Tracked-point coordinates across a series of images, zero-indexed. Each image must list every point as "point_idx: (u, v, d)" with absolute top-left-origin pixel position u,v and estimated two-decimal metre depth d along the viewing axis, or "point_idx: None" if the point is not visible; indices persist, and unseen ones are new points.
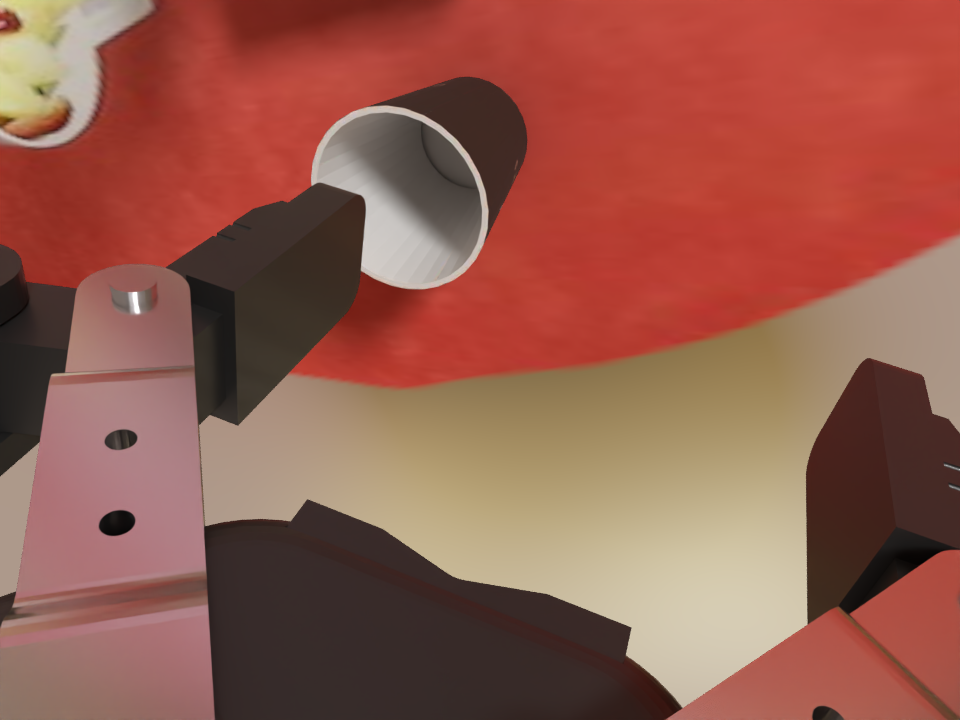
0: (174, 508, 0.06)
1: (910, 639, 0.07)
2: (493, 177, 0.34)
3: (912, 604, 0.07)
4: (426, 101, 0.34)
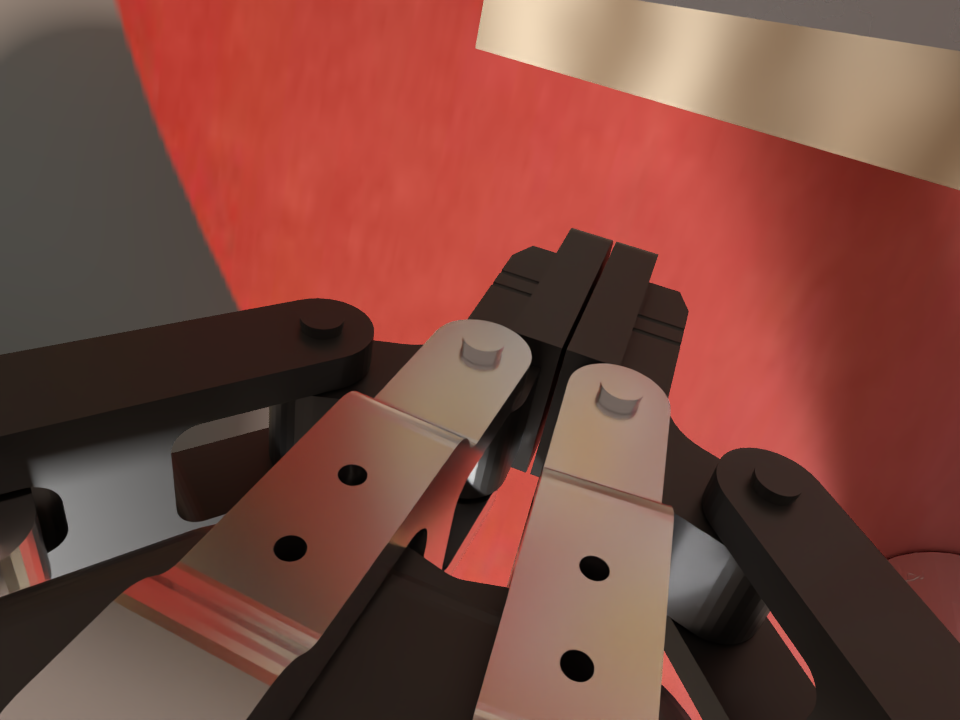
0: (341, 563, 0.06)
1: (591, 459, 0.08)
2: None
3: (577, 430, 0.08)
4: None
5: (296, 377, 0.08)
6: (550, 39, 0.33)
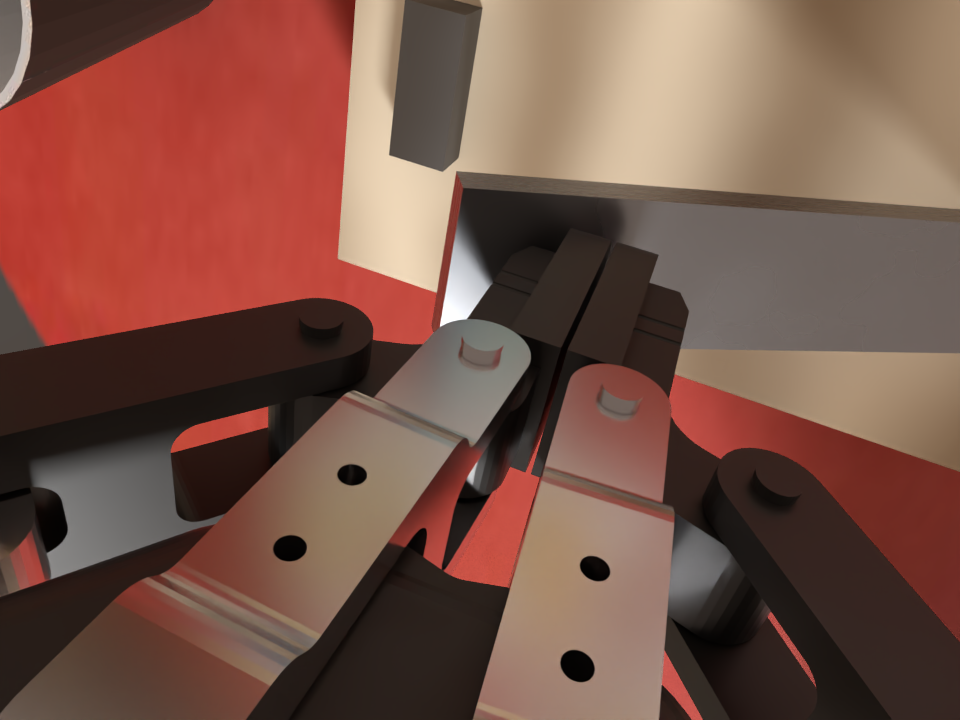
0: (341, 563, 0.06)
1: (591, 459, 0.08)
2: None
3: (577, 430, 0.08)
4: (81, 39, 0.22)
5: (295, 377, 0.08)
6: (433, 257, 0.24)
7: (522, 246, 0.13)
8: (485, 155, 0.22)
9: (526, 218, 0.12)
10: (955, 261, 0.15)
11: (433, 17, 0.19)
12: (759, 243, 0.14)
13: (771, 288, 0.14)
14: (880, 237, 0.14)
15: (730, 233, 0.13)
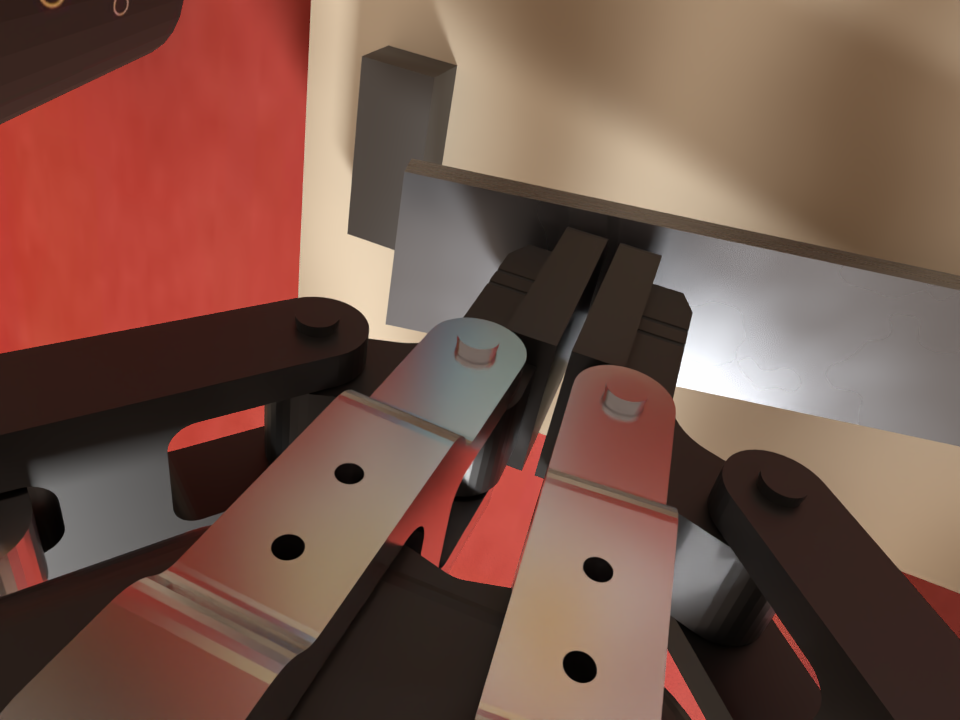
0: (339, 562, 0.06)
1: (595, 461, 0.08)
2: None
3: (581, 432, 0.08)
4: None
5: (291, 375, 0.08)
6: None
7: (464, 239, 0.13)
8: None
9: (467, 211, 0.13)
10: None
11: (395, 78, 0.16)
12: (720, 276, 0.13)
13: (739, 329, 0.13)
14: (869, 294, 0.13)
15: (687, 260, 0.13)
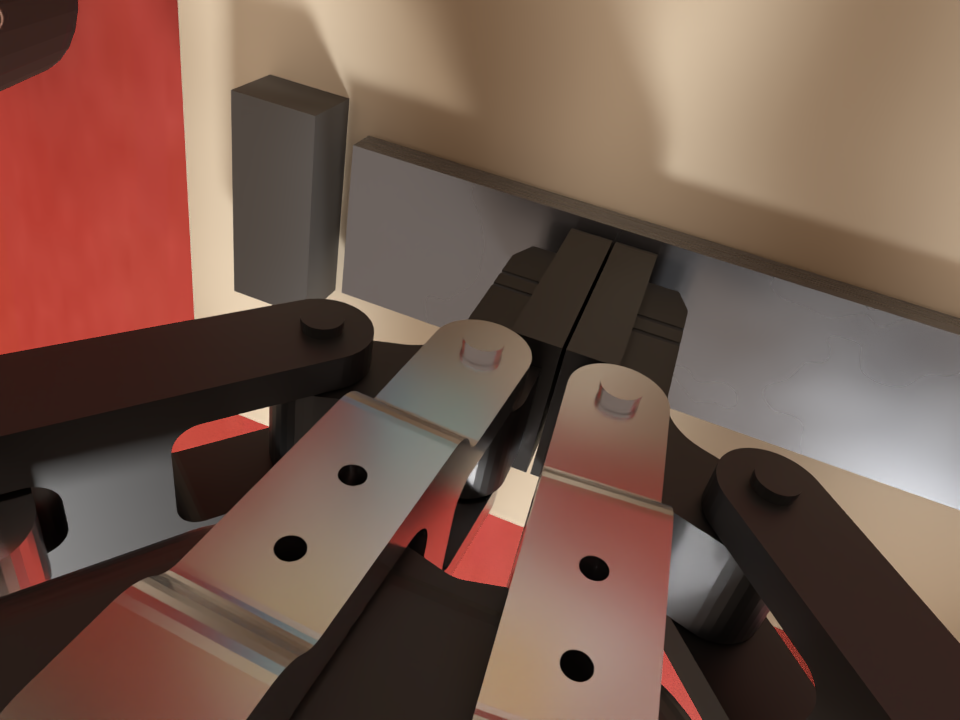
0: (341, 563, 0.06)
1: (590, 459, 0.08)
2: None
3: (576, 430, 0.08)
4: None
5: (296, 377, 0.08)
6: None
7: (407, 215, 0.14)
8: None
9: (409, 188, 0.13)
10: (920, 374, 0.12)
11: (271, 116, 0.13)
12: (650, 276, 0.13)
13: None
14: (804, 311, 0.12)
15: None
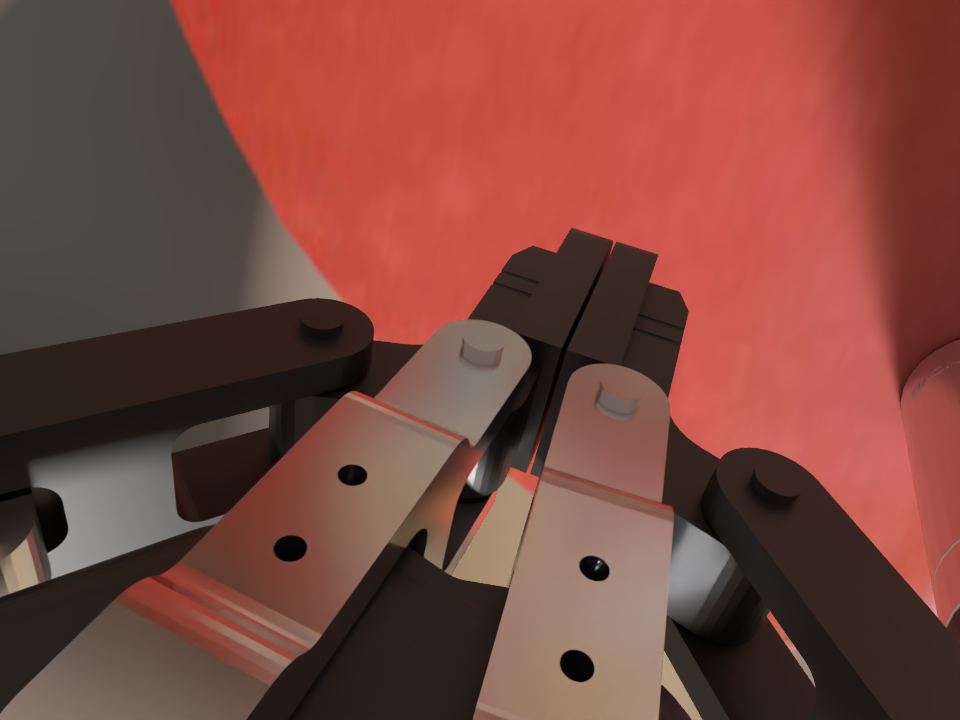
0: (341, 564, 0.06)
1: (590, 459, 0.08)
2: None
3: (577, 430, 0.08)
4: None
5: (296, 377, 0.08)
6: None
7: None
8: None
9: None
10: None
11: None
12: None
13: None
14: None
15: None
